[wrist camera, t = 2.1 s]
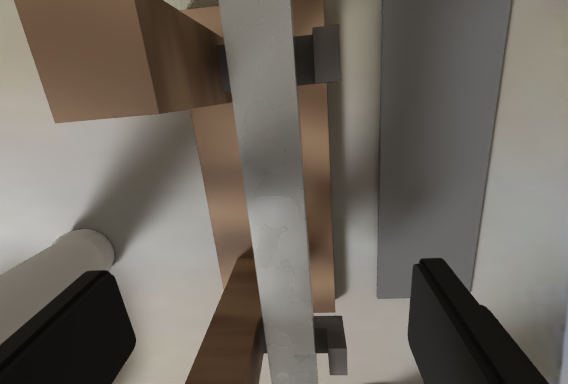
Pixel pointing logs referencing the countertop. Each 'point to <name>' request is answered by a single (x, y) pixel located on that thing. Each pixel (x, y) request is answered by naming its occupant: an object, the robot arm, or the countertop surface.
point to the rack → (200, 139)
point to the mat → (435, 132)
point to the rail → (273, 177)
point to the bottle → (49, 276)
